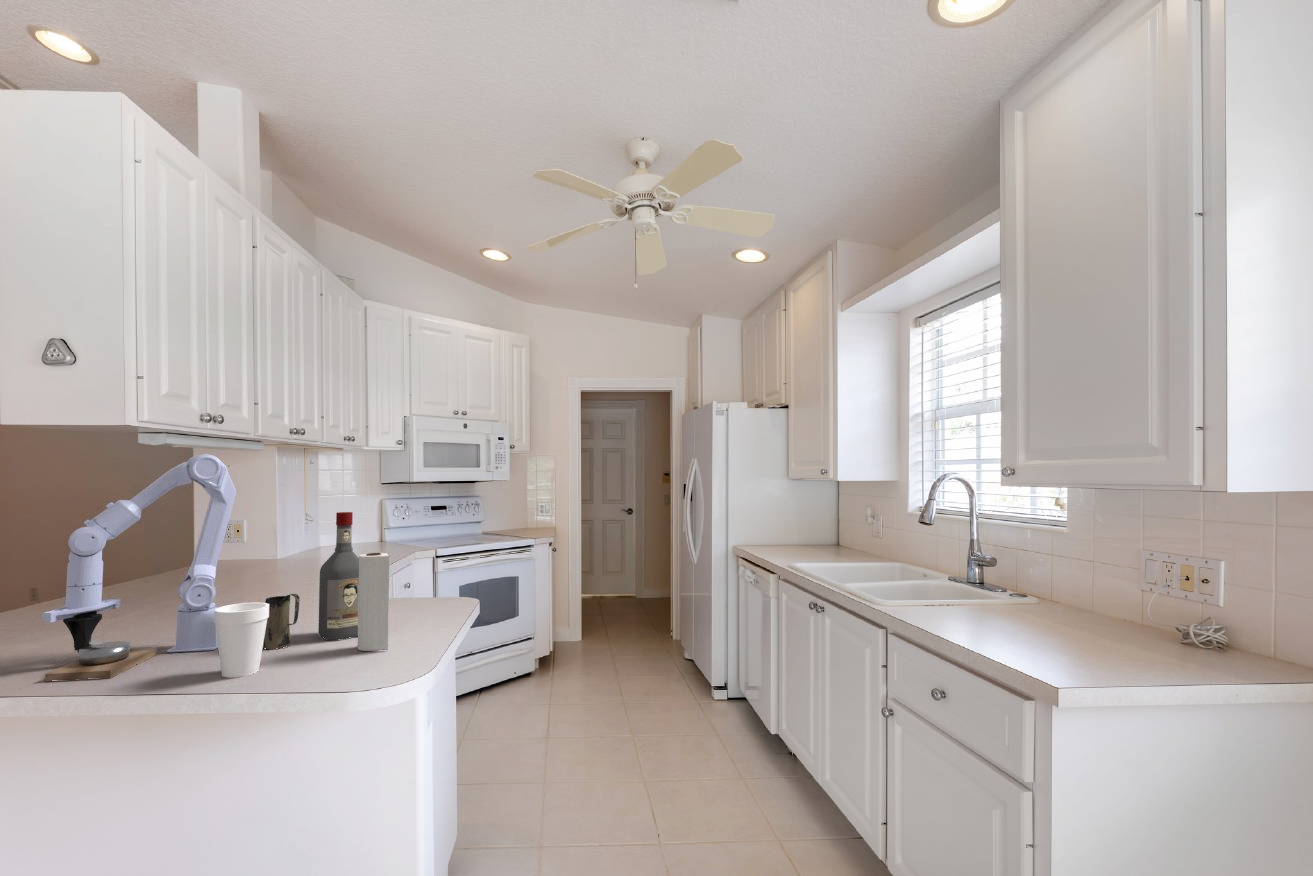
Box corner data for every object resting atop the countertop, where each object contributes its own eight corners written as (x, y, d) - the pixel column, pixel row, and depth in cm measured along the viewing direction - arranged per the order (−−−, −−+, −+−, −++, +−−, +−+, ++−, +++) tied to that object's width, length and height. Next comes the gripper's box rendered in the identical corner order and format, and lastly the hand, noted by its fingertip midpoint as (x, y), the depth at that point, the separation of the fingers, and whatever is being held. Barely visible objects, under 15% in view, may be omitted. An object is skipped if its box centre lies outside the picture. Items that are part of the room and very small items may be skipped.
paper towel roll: (356, 646, 150) (358, 553, 151) (385, 643, 153) (386, 551, 154) (358, 654, 144) (360, 556, 145) (388, 651, 147) (389, 555, 148)
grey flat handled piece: (136, 656, 136) (136, 640, 136) (88, 667, 129) (88, 650, 129) (105, 646, 144) (105, 631, 144) (57, 655, 137) (58, 639, 137)
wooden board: (155, 655, 144) (156, 647, 144) (110, 678, 128) (110, 669, 128) (98, 658, 141) (98, 650, 141) (44, 682, 126) (45, 673, 126)
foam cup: (204, 682, 126) (206, 613, 126) (221, 667, 135) (223, 604, 135) (260, 677, 128) (262, 610, 129) (273, 664, 137) (275, 601, 138)
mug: (256, 649, 148) (257, 595, 149) (274, 642, 154) (275, 591, 154) (288, 650, 147) (289, 596, 147) (304, 644, 152) (305, 592, 153)
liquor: (315, 635, 160) (318, 512, 161) (353, 628, 167) (356, 510, 168) (329, 642, 154) (332, 514, 155) (368, 635, 160) (370, 512, 162)
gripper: (102, 578, 145) (99, 640, 144) (30, 589, 131) (27, 658, 130) (129, 579, 144) (126, 641, 143) (60, 591, 130) (57, 660, 129)
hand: (81, 650), depth 137 cm, fingers closed, pressing on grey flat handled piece
